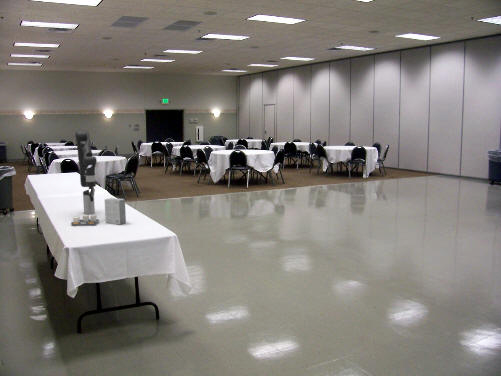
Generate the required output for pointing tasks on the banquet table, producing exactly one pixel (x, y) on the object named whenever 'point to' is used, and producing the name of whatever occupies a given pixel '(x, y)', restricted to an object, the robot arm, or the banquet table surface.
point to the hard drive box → (115, 211)
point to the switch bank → (85, 223)
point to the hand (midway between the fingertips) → (91, 201)
